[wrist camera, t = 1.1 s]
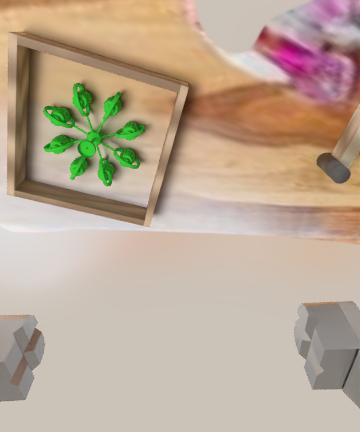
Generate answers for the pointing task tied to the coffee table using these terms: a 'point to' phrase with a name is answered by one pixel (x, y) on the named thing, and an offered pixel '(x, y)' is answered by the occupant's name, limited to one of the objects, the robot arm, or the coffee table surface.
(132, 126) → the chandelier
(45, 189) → the wooden corral
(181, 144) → the coffee table surface
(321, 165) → the double bar rack
